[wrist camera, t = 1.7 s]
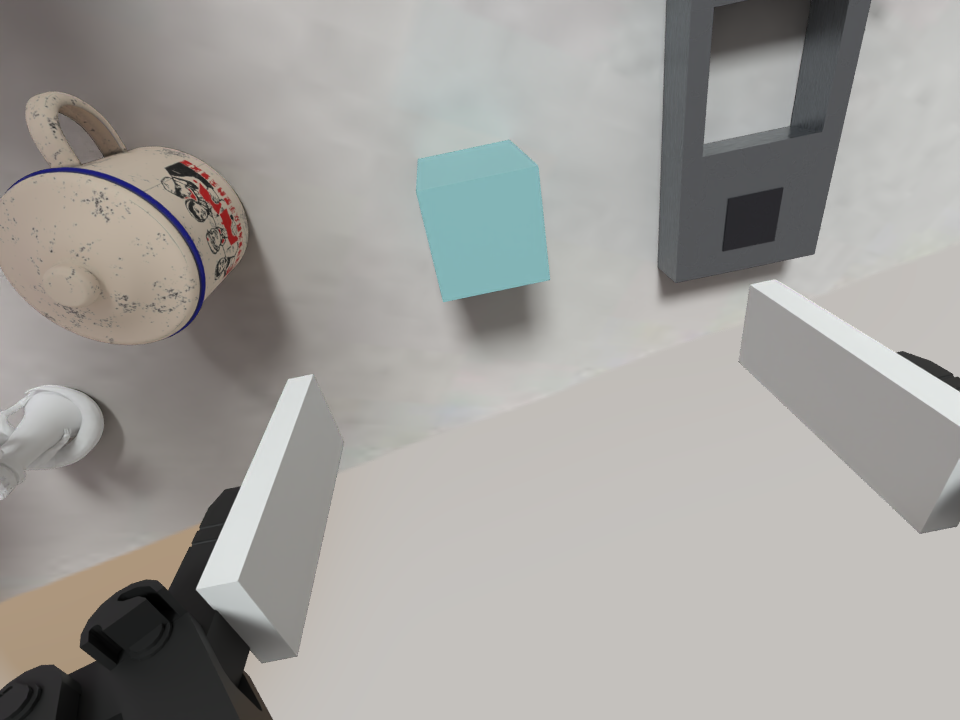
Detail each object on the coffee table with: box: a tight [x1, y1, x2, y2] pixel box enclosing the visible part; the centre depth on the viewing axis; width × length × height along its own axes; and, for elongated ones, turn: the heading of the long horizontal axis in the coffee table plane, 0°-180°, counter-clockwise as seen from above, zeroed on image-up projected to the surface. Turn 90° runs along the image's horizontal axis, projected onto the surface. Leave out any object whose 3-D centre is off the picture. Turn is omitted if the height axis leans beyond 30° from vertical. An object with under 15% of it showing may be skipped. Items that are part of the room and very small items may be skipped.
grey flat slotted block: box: [658, 0, 871, 283], centre depth 28 cm, size 24×10×3 cm, turn 10°
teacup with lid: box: [0, 92, 248, 345], centre depth 25 cm, size 12×9×12 cm
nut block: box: [416, 140, 550, 302], centre depth 28 cm, size 6×6×9 cm
